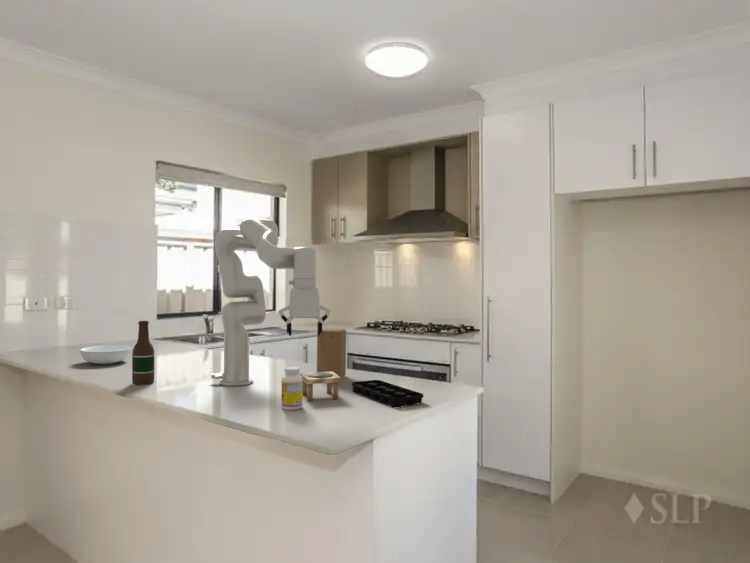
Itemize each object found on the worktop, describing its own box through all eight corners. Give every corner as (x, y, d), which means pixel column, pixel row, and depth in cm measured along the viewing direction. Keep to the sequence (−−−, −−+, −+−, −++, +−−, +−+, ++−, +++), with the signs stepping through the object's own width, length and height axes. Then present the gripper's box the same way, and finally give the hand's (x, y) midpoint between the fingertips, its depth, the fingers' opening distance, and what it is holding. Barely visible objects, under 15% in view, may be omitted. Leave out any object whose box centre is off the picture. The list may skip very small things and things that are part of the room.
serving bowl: (117, 367, 236) (117, 352, 236) (70, 366, 236) (70, 351, 236) (138, 359, 257) (138, 345, 257) (95, 359, 257) (95, 344, 257)
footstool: (306, 402, 178) (306, 379, 178) (299, 394, 190) (299, 372, 189) (341, 399, 182) (341, 377, 182) (332, 391, 193) (332, 370, 193)
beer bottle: (158, 382, 206) (159, 320, 206) (142, 386, 199) (142, 322, 198) (144, 380, 209) (144, 319, 209) (127, 384, 202) (127, 321, 202)
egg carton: (372, 387, 203) (372, 378, 203) (435, 401, 182) (435, 391, 182) (338, 395, 191) (338, 384, 191) (401, 411, 170) (401, 399, 170)
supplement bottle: (282, 405, 174) (282, 366, 173) (302, 405, 174) (303, 366, 174) (280, 410, 167) (280, 369, 167) (301, 410, 168) (302, 369, 167)
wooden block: (339, 380, 213) (340, 331, 213) (315, 379, 215) (316, 330, 215) (346, 376, 223) (346, 328, 223) (323, 374, 225) (323, 327, 225)
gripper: (278, 284, 173) (278, 336, 173) (331, 284, 176) (331, 335, 176) (278, 283, 180) (278, 334, 180) (328, 283, 183) (328, 333, 184)
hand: (304, 335), depth 178 cm, fingers open, 9 cm apart
